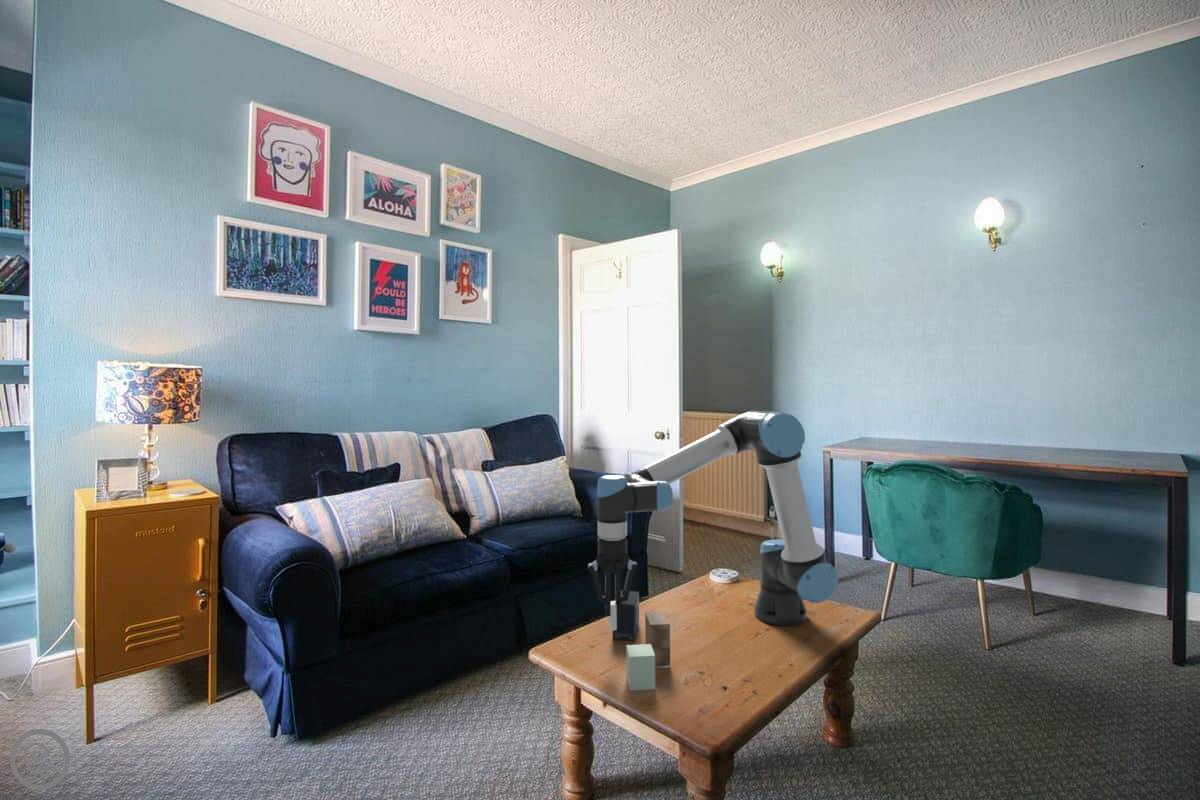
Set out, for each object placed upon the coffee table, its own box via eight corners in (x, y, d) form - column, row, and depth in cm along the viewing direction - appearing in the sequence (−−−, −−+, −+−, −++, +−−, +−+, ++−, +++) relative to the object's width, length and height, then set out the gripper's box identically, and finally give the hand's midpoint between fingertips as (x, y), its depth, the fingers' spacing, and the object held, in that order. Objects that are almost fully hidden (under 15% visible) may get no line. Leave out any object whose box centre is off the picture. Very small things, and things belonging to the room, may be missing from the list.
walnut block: (664, 652, 154) (664, 611, 154) (670, 667, 146) (669, 624, 146) (645, 653, 154) (645, 612, 154) (650, 668, 146) (650, 624, 146)
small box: (635, 641, 161) (634, 604, 160) (611, 639, 162) (611, 602, 162) (640, 625, 171) (639, 590, 171) (618, 624, 173) (618, 589, 172)
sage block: (651, 676, 142) (650, 644, 142) (655, 689, 136) (655, 655, 136) (626, 677, 142) (626, 645, 141) (629, 690, 136) (629, 656, 135)
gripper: (635, 532, 152) (636, 620, 153) (586, 533, 152) (587, 623, 152) (639, 539, 145) (640, 633, 146) (587, 541, 144) (588, 635, 145)
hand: (613, 627), depth 149 cm, fingers closed
